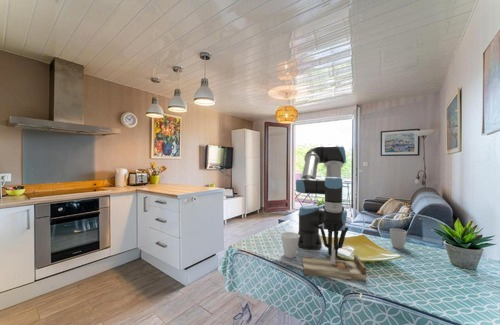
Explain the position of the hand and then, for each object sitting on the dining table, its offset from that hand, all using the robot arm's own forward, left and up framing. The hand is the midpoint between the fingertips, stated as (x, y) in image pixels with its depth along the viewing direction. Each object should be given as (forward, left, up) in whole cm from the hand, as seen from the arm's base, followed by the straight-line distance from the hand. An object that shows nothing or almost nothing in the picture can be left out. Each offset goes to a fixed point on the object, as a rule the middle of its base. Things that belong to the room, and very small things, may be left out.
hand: (332, 262), depth 94 cm
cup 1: (-11, -19, -4) cm, 23 cm away
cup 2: (-37, +44, -4) cm, 58 cm away
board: (0, -1, -4) cm, 4 cm away
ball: (0, +3, -2) cm, 4 cm away
